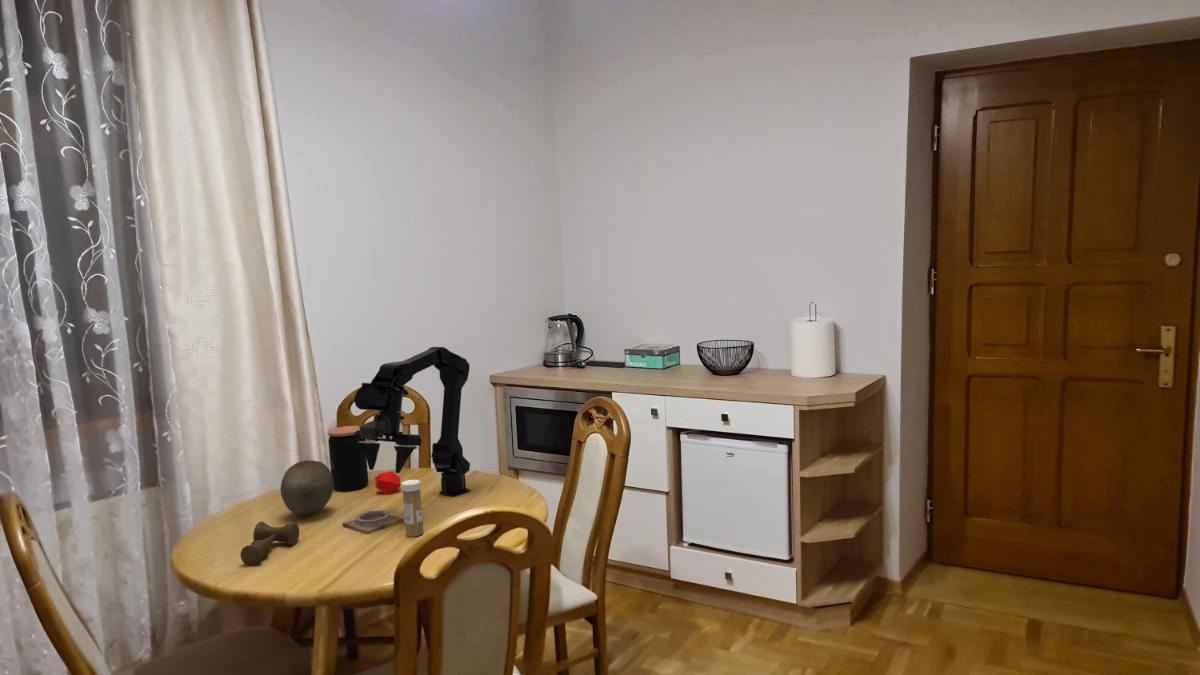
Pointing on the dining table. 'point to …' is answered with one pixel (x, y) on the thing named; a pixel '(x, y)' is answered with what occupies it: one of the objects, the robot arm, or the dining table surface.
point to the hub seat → (372, 521)
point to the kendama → (268, 541)
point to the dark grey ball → (307, 487)
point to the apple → (387, 482)
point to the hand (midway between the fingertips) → (384, 471)
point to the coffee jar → (347, 460)
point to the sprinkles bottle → (412, 508)
